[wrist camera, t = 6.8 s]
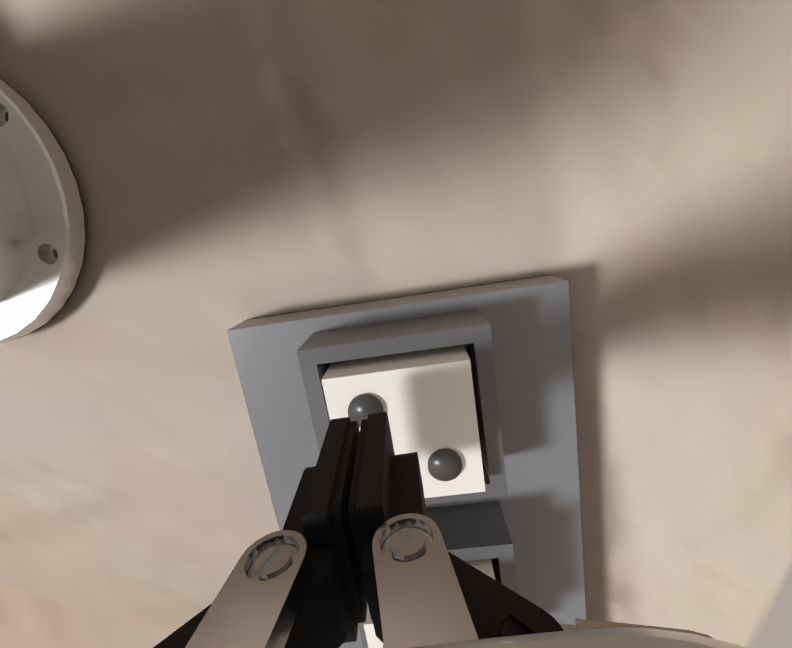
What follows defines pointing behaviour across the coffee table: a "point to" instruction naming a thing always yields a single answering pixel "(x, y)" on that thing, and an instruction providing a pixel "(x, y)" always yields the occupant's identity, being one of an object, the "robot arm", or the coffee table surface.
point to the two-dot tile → (417, 411)
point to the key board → (495, 408)
